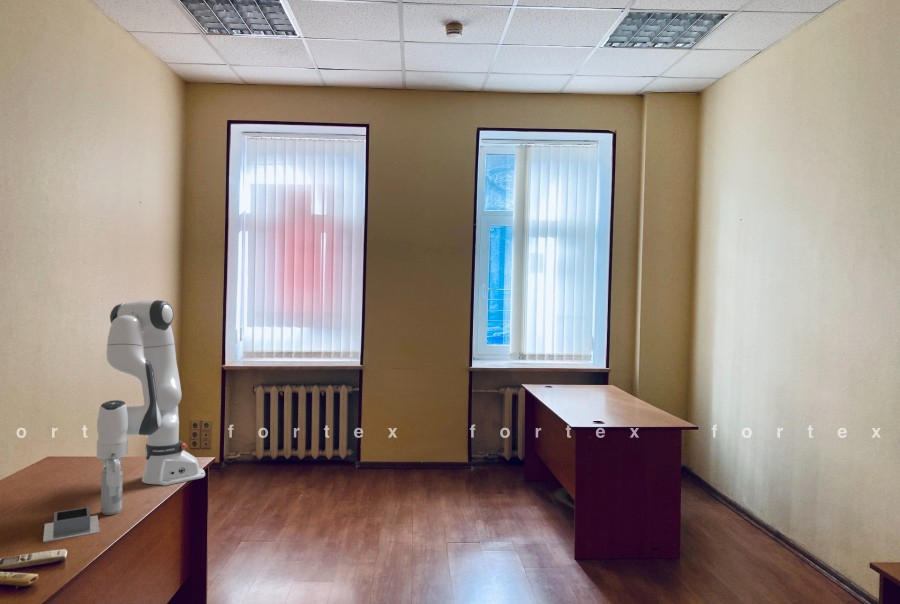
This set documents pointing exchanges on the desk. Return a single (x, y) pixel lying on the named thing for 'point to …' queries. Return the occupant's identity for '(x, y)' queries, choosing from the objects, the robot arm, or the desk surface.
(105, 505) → the energy drink can
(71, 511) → the socket
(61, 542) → the desk surface
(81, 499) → the desk surface
